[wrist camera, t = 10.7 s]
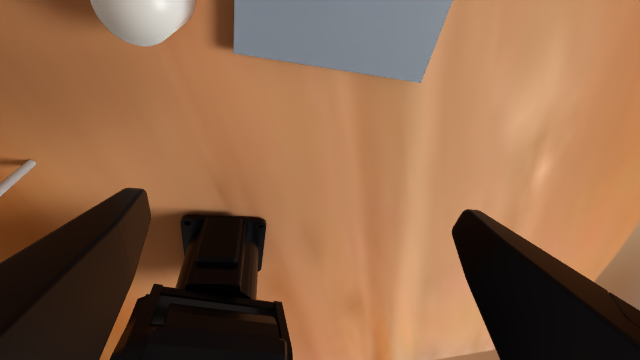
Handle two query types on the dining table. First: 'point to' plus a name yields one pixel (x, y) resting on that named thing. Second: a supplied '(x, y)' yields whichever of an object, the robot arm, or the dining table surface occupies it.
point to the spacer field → (143, 18)
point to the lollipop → (16, 176)
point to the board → (343, 33)
